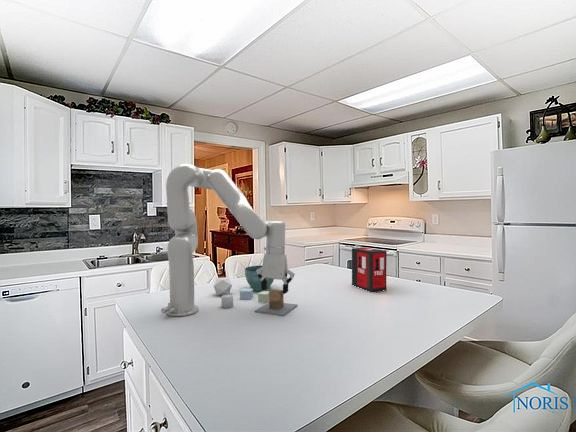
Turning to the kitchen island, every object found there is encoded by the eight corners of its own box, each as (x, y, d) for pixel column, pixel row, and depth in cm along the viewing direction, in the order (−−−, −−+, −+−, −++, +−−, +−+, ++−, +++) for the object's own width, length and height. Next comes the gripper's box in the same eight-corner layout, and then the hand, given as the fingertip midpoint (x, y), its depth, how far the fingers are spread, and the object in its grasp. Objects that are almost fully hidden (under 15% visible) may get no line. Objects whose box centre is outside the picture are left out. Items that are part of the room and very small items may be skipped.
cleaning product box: (386, 290, 163) (386, 251, 162) (372, 293, 159) (372, 252, 158) (365, 283, 178) (365, 247, 177) (351, 285, 174) (351, 248, 173)
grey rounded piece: (229, 308, 136) (228, 298, 136) (219, 307, 138) (219, 297, 138) (235, 305, 140) (235, 295, 140) (226, 304, 142) (225, 294, 142)
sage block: (266, 303, 144) (265, 294, 143) (258, 302, 145) (258, 293, 145) (271, 300, 148) (271, 291, 148) (263, 299, 150) (263, 290, 150)
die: (225, 299, 152) (236, 280, 156) (208, 290, 152) (220, 271, 156) (225, 300, 160) (235, 282, 164) (209, 292, 160) (220, 274, 164)
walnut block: (279, 309, 132) (279, 292, 132) (269, 308, 134) (269, 291, 134) (283, 306, 136) (283, 289, 136) (273, 305, 138) (273, 288, 138)
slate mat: (283, 316, 126) (283, 314, 126) (254, 312, 131) (254, 310, 131) (297, 305, 139) (297, 304, 139) (270, 302, 144) (270, 301, 144)
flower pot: (271, 294, 158) (271, 271, 158) (240, 292, 162) (240, 270, 161) (279, 286, 174) (279, 265, 174) (250, 284, 177) (250, 265, 177)
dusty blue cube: (250, 300, 149) (250, 291, 149) (239, 299, 149) (239, 291, 149) (253, 297, 154) (253, 288, 154) (242, 296, 154) (242, 288, 154)
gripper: (252, 249, 135) (251, 291, 135) (291, 253, 128) (289, 296, 128) (261, 248, 141) (260, 287, 142) (298, 251, 134) (297, 292, 135)
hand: (274, 291), depth 135 cm, fingers open, 9 cm apart
